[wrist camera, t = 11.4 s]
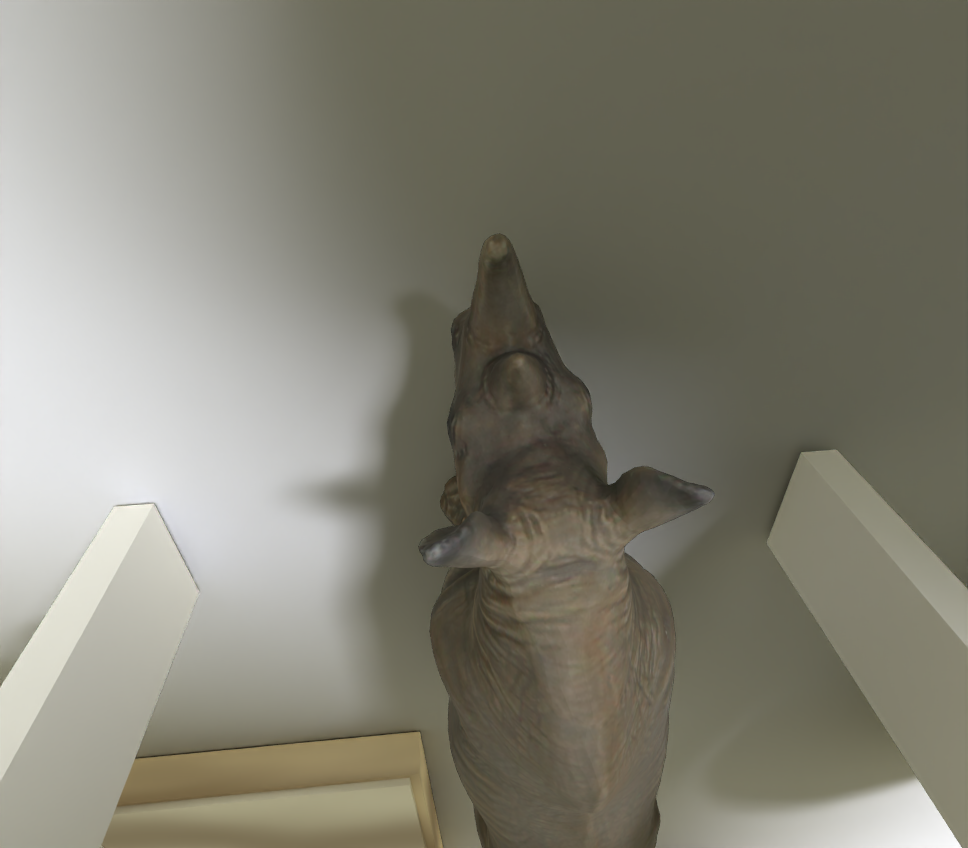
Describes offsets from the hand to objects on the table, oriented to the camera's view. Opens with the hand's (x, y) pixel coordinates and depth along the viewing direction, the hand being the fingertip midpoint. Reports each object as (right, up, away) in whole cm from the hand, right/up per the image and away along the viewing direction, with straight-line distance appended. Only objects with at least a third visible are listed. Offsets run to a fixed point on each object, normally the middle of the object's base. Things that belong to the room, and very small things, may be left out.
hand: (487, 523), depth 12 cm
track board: (-7, -17, +12) cm, 22 cm away
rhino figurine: (+1, 0, 0) cm, 1 cm away
